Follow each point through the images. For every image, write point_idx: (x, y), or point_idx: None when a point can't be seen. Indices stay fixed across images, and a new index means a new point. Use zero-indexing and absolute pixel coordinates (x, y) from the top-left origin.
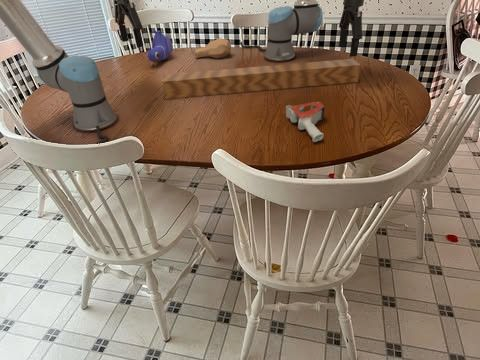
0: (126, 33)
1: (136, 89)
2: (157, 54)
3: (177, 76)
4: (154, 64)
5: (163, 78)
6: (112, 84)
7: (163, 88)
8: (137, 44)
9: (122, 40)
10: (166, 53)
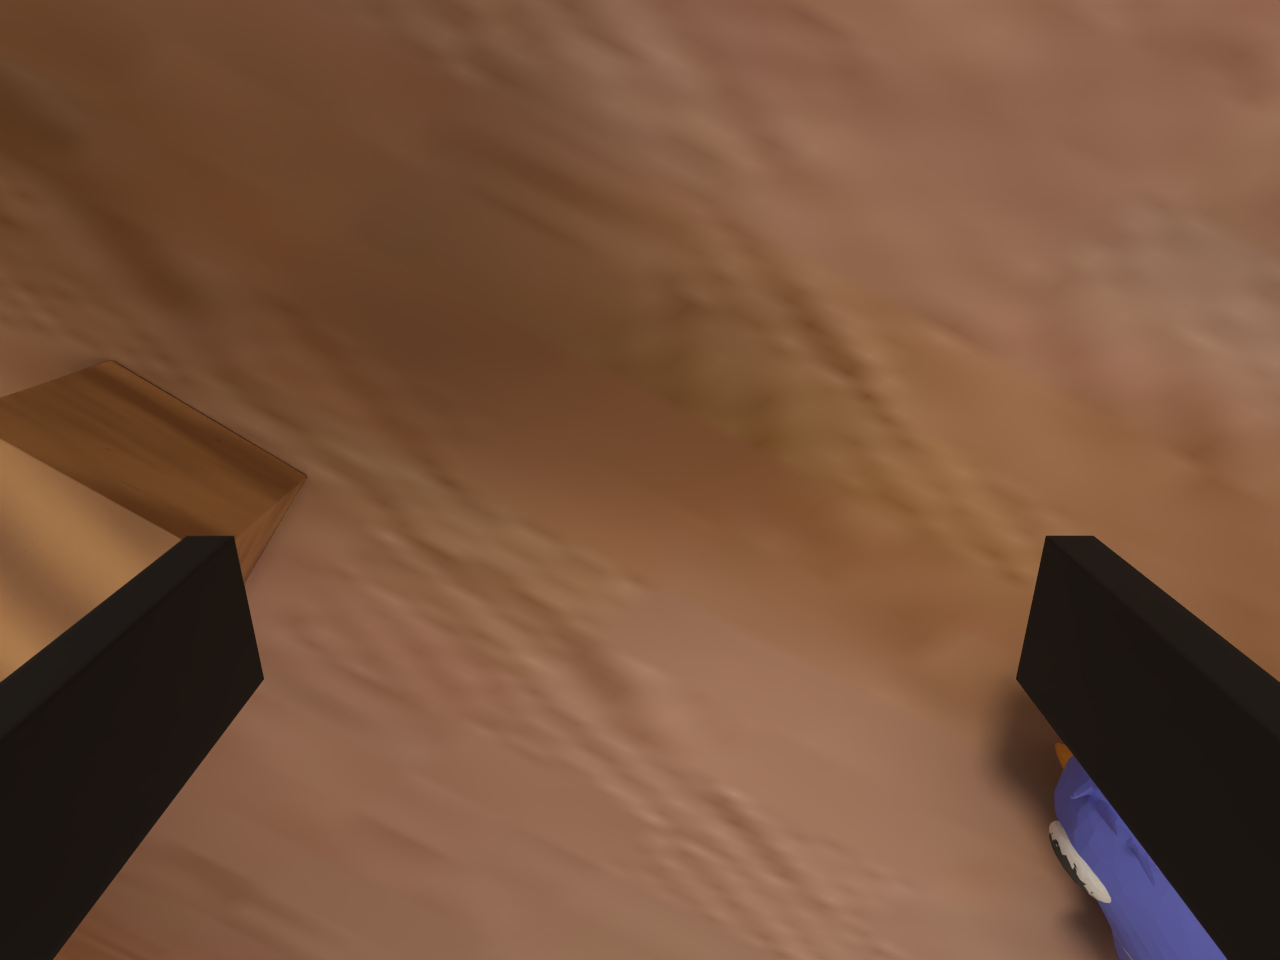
0: (1123, 797)
1: (602, 268)
2: (1069, 870)
3: (30, 630)
4: (1066, 751)
5: (61, 484)
6: (1012, 122)
7: (23, 390)
8: (139, 586)
9: (1081, 552)
10: (1122, 956)
